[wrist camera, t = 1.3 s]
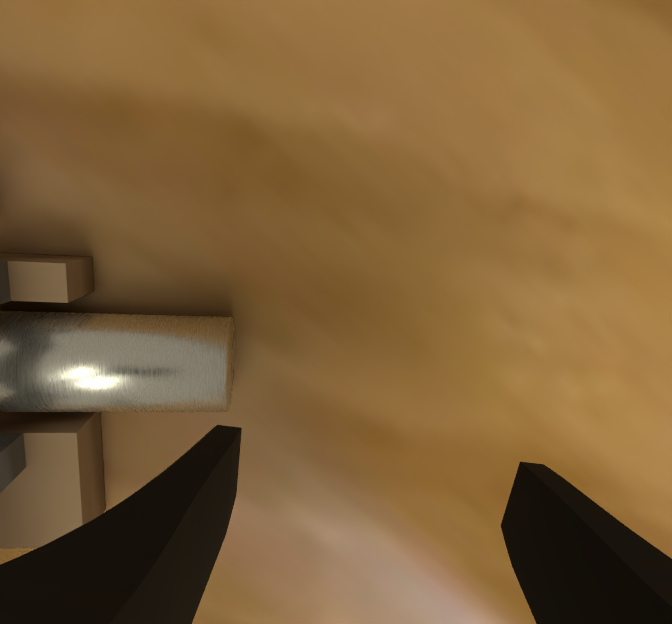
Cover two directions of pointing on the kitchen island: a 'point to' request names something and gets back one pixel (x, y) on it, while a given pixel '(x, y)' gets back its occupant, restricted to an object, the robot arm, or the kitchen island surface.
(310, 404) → the kitchen island surface
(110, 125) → the kitchen island surface
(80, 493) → the bearing block
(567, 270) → the kitchen island surface
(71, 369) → the axle
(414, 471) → the kitchen island surface
